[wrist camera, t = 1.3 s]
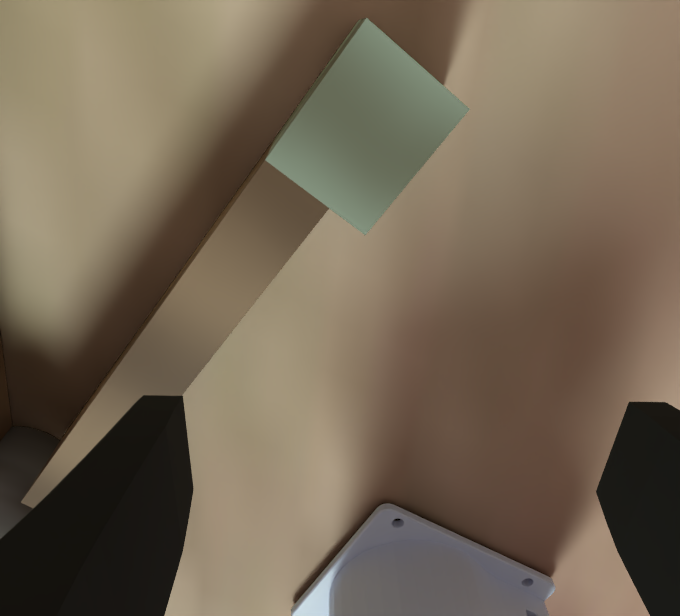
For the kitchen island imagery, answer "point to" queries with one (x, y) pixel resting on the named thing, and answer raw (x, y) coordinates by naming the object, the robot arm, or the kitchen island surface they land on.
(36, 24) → the kitchen island surface
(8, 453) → the fixed tong arm
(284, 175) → the bar
